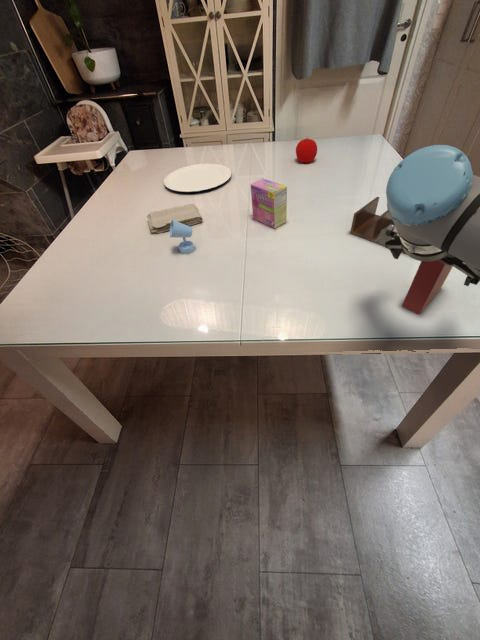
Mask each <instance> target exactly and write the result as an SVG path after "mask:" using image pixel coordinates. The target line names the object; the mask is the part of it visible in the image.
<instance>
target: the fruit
mask: <svg viewBox="0 0 480 640" xmlns="http://www.w3.org/2000/svg"><path fill="white" fill-rule="evenodd" d="M317 153H318V145H317V143H316V141H315V139H312V138H309V137H308V136H306V138H304V139H301V140H300V141H298V142H297V145H296V147H295V156H296V158H297V160H298V161H299V162H300V163H305V164H310V163H311V162H313V161H314V160H315V158H316V156H317V155H318V154H317Z"/></svg>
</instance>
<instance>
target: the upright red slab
mask: <svg viewBox="0 0 480 640" xmlns="http://www.w3.org/2000/svg"><path fill="white" fill-rule="evenodd" d="M444 258H446V257H444ZM453 268H454V267H453V266H452V265H445V264H443V263H441V262H439V261H438V260H435V261H429V262H424V261H420V264H419V266H418V268H417V270H416V272H415V274H414V277H413V280H412V282H411V284H410V286H409V289H408V290H407V293H406V295H405V298H404V300H403V302H402V304H401V307H403V308H405V309H406V310H408V311H411V312H413V313H416V314H418V315H420V314H421V313H422V312H423V311H425V308H427V306H428V305H429V304H430V302H431V301H432V300H433V299H434V297H435V296H436V295H437V294H438V293H439V292H440V290H442V287H443V285H444V284H445V282H446V280H447V278H448V276H449V275H450V273H451V271H452V269H453Z"/></svg>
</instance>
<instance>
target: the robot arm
mask: <svg viewBox="0 0 480 640" xmlns="http://www.w3.org/2000/svg"><path fill="white" fill-rule="evenodd" d="M386 183H387V184H386V189H385V196H386V209H387V210H388V212H389V214H390V216H391V217H392V222H391V223H390V225H389V226H388V227H386V228H384V229H382V230H381V231H380V233H379V235H378V237H377V238H376V240H375V242H374V243H375V244H377V245H380V244H382V243H384V244H385V245H384V246H383V247H385V248H386V249H388V250H389V252H390V253H391V255H392V257H393V259H394V260H395V259H396V260H398V259H399V258H400V256H401V255H402V251H403V249H404V251H405V252H406V253H407V254H406V255H407V256H409V258H411V259H413V260H416V261H419V262H421V261H424V262H429V261H435V260H438V261H439V262H441V263H443V264H445V265H452V266H453V267H452V268H455V269H456V270H458V271H459V272H461V273H463V274H464V275H466V278H465V279H464V283H463V286H466V287H469V285H471V284H472V285H474V286H477V285H478V284H479V283H480V176H478V175H475V174H474V172H473V169H472V164H471V162H470V160H469V158H468V157H467V155H466V154H465V153H464V152H463V151H462V150H460V149H459V148H457V147H455V146H452V145H449V144H433V145H429V146H424V147H422V148H419V149H417V150H415V151H413V152H411V153H410V154H408V155H407V156H405V157H404V159H402V160H401V161H400V162H399V163H398V164H397V165H396V166H395V167H394V169H393V170H392V172H391V174H390V175H389V178H388V180H387V182H386ZM444 257H446V258H444Z"/></svg>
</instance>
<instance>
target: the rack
mask: <svg viewBox="0 0 480 640" xmlns="http://www.w3.org/2000/svg"><path fill="white" fill-rule="evenodd" d="M379 201H380V196H376V197H374V199H372V200H371V201H369V202H368V203H366V204H365V205H364V206H362V207H360V209H358V210H357V211H356V212H353V218H352V221H351V227H350V232H349V233H350V235H352V236H355V237H358V238H361V239H363V240H366V241H370V242H371V243H375V240H376V238H377V237H378V235H379V233H380V231H381V230H382V229H384V228H386V227H388V226H389V225H390V223H391V222H392V217H391V216H390V214H389V212H388V209H387V210H386V211H385V212H383V213H382V214H381V215H379V214H376V213H377V208H378V206H379V205H378V204H379ZM379 245H381V246H383V247H385V246H384V245H385V244H384V243H382V244H379ZM402 253H403V254H405V255H408V254H407V253H406V252H405V251H404V249H403V251H402ZM402 253H401V254H402Z"/></svg>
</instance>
